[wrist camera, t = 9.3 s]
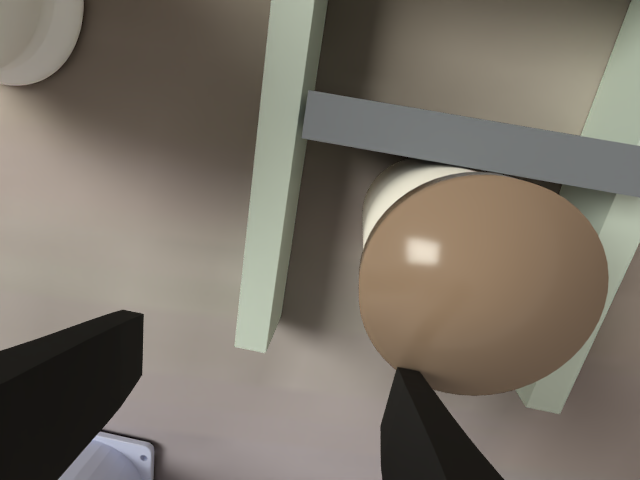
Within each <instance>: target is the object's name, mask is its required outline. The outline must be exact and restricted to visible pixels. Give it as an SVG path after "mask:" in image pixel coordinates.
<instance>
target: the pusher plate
mask: <svg viewBox="0 0 640 480" xmlns="http://www.w3.org/2000/svg"><path fill="white" fill-rule="evenodd" d="M302 138H303V139H309V140H315V141H320V142H326V143H332V144H337V145H343V146H349V147H354V148H360V149H366V150H371V151H377V152H383V153H389V154H394V155H400V156H406V157H411V158H417V159H423V160H428V161H434V162H440V163H445V164H451V165H457V166H463V167H468V168H474V169H480V170H485V171H491V172H497V173H502V174H508V175H514V176H519V177H525V178H531V179H536V180H542V181H548V182H554V183H559V184H565V185H571V186H576V187H582V188H588V189H593V190H599V191H605V192H610V193H616V194H622V195H627V196H633V197H639V198H640V146H637V145H631V144H625V143H619V142H613V141H607V140H601V139H595V138H590V137H584V136H578V135H572V134H566V133H560V132H554V131H548V130H542V129H536V128H530V127H524V126H518V125H513V124H507V123H501V122H495V121H489V120H483V119H477V118H471V117H465V116H459V115H453V114H447V113H441V112H435V111H430V110H424V109H418V108H412V107H406V106H400V105H394V104H388V103H382V102H376V101H370V100H364V99H358V98H353V97H347V96H341V95H335V94H329V93H323V92H317V91H311V90H308V96H307V103H306V110H305V117H304V124H303V131H302Z"/></svg>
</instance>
